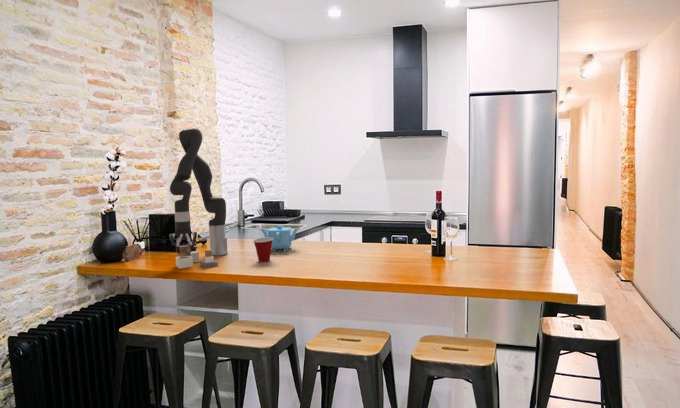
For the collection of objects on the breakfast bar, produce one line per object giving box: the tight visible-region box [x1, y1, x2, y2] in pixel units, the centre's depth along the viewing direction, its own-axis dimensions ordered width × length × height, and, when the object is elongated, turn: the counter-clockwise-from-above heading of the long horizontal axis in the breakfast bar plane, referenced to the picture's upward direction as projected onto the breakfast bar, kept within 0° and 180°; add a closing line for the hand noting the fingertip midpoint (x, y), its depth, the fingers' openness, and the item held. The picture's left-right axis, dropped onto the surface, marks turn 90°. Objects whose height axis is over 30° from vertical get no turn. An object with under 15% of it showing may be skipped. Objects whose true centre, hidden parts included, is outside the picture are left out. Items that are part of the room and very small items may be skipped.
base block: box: [175, 256, 194, 270], centre depth 263 cm, size 7×7×5 cm
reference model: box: [200, 249, 219, 269], centre depth 263 cm, size 7×7×8 cm
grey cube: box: [190, 250, 200, 263], centre depth 277 cm, size 5×5×5 cm
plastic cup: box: [252, 236, 273, 263], centre depth 272 cm, size 11×11×12 cm
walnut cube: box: [178, 244, 191, 257], centre depth 263 cm, size 5×5×5 cm
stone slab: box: [122, 243, 143, 262], centre depth 287 cm, size 15×3×8 cm, turn 168°
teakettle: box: [259, 224, 301, 252], centre depth 306 cm, size 19×19×15 cm
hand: (184, 252), depth 263 cm, fingers open, 5 cm apart
